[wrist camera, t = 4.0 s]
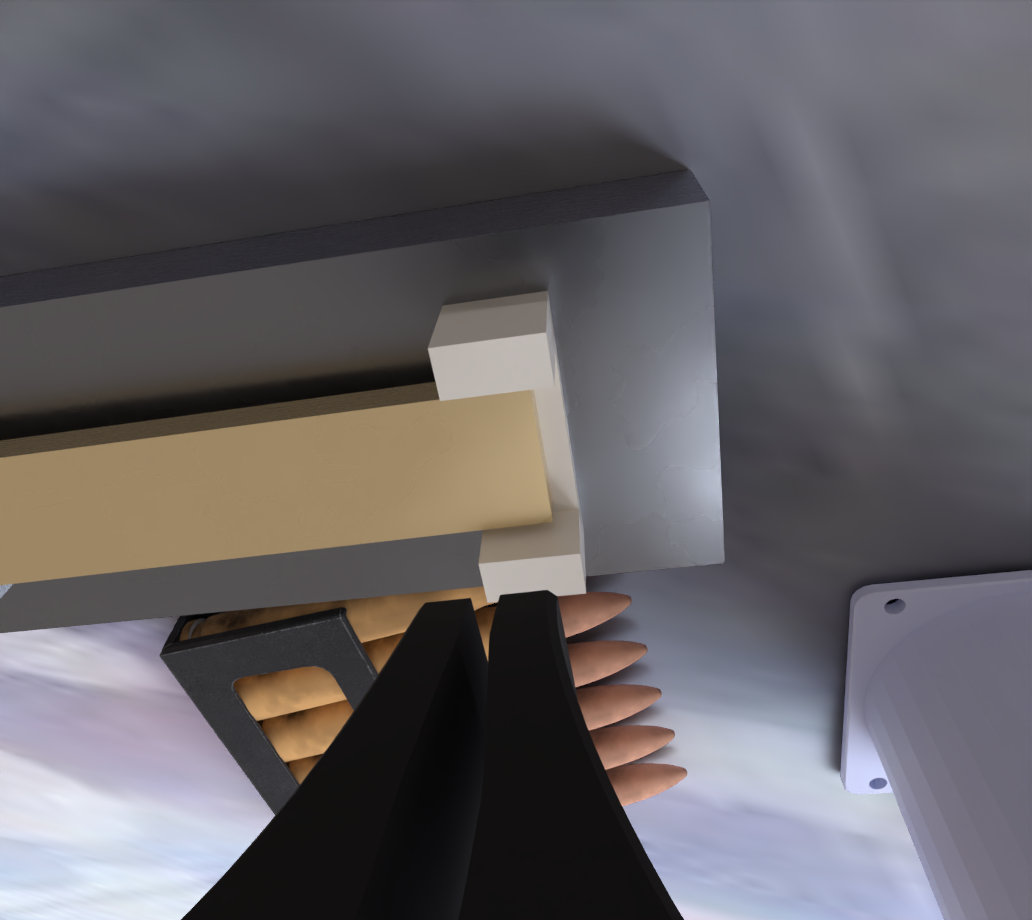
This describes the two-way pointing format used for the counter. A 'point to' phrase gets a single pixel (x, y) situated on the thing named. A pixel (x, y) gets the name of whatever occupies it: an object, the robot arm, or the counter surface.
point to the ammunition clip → (355, 665)
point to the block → (390, 374)
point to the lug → (534, 365)
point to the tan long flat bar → (269, 481)
